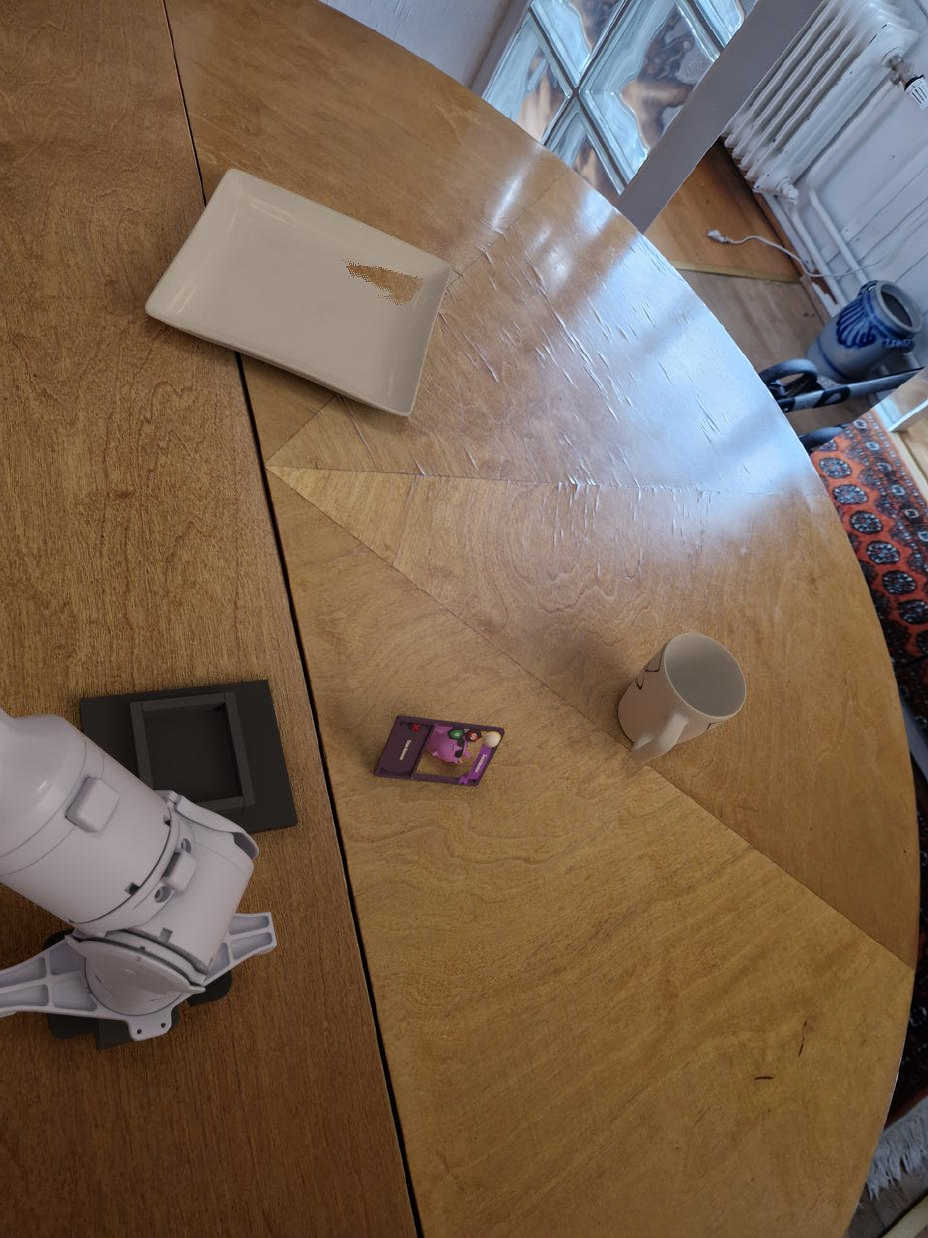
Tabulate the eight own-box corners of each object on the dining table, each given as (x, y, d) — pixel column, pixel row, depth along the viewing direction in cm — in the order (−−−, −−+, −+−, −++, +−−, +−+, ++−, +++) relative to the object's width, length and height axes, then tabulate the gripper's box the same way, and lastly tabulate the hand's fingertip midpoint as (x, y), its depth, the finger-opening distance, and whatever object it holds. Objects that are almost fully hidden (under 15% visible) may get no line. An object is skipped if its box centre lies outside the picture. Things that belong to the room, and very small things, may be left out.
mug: (657, 805, 81) (722, 764, 73) (581, 751, 80) (638, 704, 73) (694, 715, 88) (757, 668, 80) (624, 665, 88) (680, 614, 80)
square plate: (444, 286, 107) (456, 260, 104) (399, 442, 92) (411, 416, 89) (225, 188, 102) (230, 157, 99) (137, 337, 86) (140, 305, 83)
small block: (96, 1051, 54) (99, 1043, 51) (86, 951, 57) (88, 938, 54) (172, 1031, 56) (179, 1022, 53) (159, 935, 59) (165, 921, 56)
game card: (399, 725, 67) (507, 738, 70) (391, 678, 71) (495, 692, 74) (374, 783, 71) (479, 793, 74) (369, 735, 75) (468, 746, 78)
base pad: (96, 862, 61) (98, 851, 59) (78, 703, 66) (79, 689, 64) (295, 826, 67) (302, 815, 65) (265, 684, 72) (271, 670, 70)
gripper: (-9, 1069, 40) (3, 1093, 51) (305, 986, 46) (257, 1023, 57) (-18, 912, 43) (-4, 965, 54) (279, 854, 49) (238, 912, 60)
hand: (130, 987), depth 56 cm, fingers closed on small block, 4 cm apart
